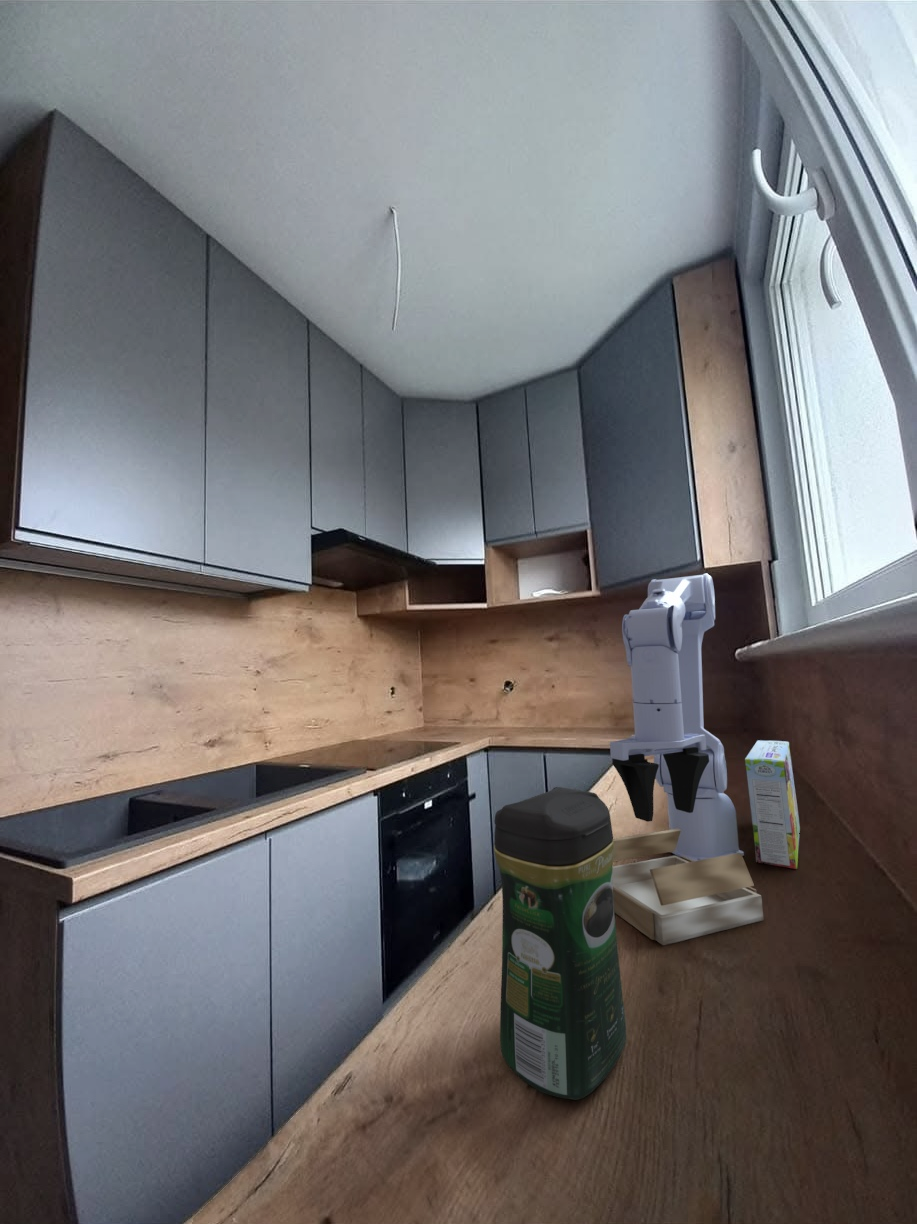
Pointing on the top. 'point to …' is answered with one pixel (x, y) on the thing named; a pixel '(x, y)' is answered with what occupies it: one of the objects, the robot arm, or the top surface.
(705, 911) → the carton
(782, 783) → the snack box
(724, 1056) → the top surface
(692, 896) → the flap
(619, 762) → the robot arm
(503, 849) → the coffee jar
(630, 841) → the flap
